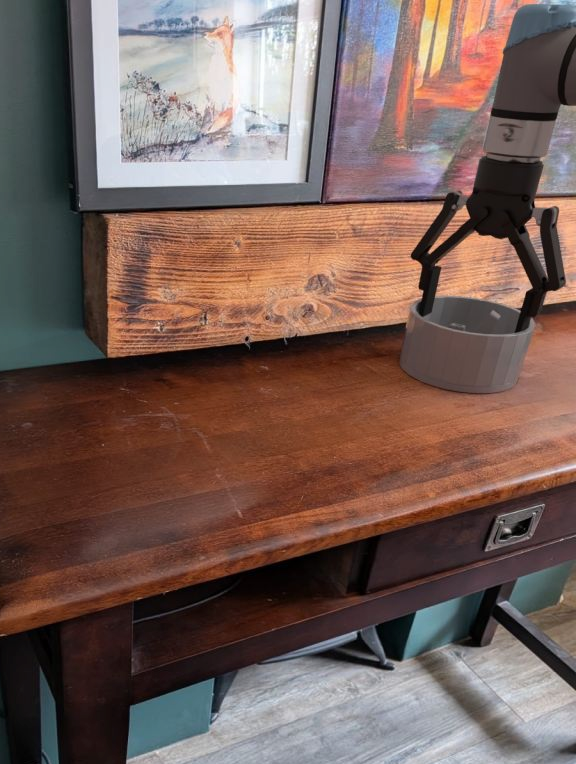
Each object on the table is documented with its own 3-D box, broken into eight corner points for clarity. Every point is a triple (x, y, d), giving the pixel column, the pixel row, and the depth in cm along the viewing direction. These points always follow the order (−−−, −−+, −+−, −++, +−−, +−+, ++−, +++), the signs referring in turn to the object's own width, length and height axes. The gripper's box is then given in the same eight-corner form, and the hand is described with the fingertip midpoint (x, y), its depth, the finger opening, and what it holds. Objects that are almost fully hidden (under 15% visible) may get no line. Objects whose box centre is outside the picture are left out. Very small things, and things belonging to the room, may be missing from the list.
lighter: (433, 359, 106) (446, 304, 102) (436, 355, 107) (449, 301, 103) (483, 371, 103) (499, 314, 99) (486, 367, 105) (502, 311, 100)
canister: (535, 370, 107) (552, 316, 103) (490, 404, 97) (507, 346, 92) (430, 339, 116) (442, 288, 111) (378, 368, 105) (389, 312, 101)
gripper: (405, 146, 95) (376, 310, 107) (611, 174, 82) (552, 357, 93) (431, 142, 100) (401, 299, 111) (629, 168, 87) (571, 343, 98)
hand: (470, 326), depth 102 cm, fingers open, 13 cm apart
